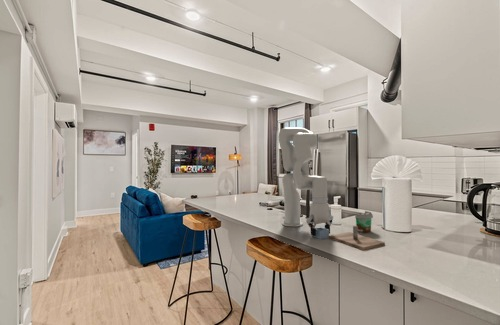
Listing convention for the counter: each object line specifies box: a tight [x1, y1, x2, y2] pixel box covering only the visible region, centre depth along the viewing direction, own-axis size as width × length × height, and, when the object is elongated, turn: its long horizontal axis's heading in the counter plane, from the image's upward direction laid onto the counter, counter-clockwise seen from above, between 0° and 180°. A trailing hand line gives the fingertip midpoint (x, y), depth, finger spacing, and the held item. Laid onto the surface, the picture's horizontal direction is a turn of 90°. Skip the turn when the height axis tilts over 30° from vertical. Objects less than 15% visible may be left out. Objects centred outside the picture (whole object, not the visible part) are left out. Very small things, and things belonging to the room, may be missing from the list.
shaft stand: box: [328, 225, 386, 251], centre depth 117 cm, size 20×14×7 cm
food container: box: [354, 210, 374, 234], centre depth 133 cm, size 12×6×10 cm, turn 131°
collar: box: [312, 226, 330, 240], centre depth 125 cm, size 6×6×4 cm
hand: (320, 234), depth 125 cm, fingers open, 9 cm apart
